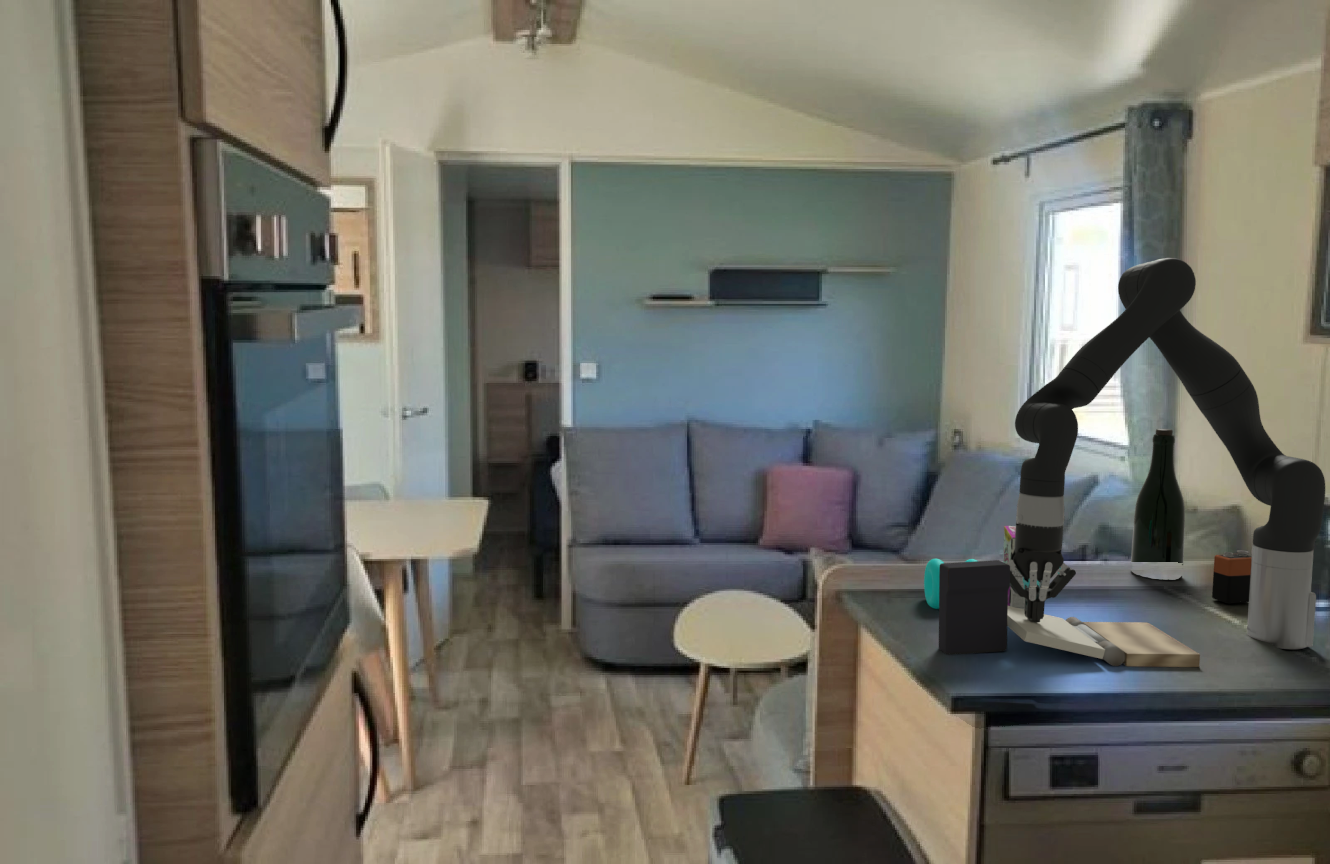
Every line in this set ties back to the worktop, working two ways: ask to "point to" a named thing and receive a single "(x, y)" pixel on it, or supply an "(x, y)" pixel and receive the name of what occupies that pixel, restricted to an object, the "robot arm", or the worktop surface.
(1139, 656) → the fixed leaf
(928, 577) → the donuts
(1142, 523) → the wine bottle
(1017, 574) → the candy bar box
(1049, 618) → the hinge leaf
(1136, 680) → the worktop surface
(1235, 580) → the battery
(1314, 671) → the worktop surface
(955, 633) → the calculator
